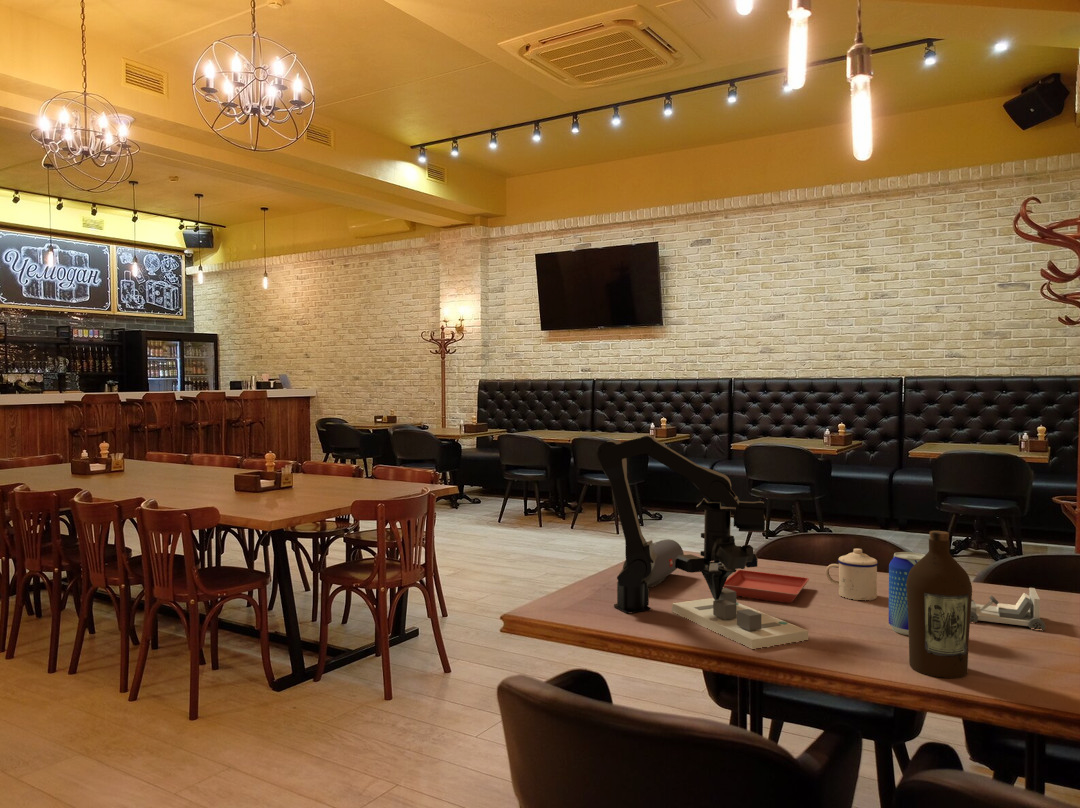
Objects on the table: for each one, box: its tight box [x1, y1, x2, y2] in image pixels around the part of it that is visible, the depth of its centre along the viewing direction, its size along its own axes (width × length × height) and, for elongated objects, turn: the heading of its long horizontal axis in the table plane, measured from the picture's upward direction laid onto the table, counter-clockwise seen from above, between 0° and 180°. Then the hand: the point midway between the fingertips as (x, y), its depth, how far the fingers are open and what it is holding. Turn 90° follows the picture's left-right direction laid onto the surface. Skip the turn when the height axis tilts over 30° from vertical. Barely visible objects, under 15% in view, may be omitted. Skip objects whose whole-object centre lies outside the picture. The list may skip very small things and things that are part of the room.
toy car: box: [970, 579, 1047, 631], centre depth 172 cm, size 18×10×12 cm
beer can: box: [888, 551, 926, 636], centre depth 163 cm, size 8×8×16 cm
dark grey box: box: [713, 599, 736, 620], centre depth 166 cm, size 3×4×3 cm
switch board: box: [671, 597, 809, 650], centre depth 167 cm, size 14×28×2 cm, turn 24°
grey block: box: [715, 587, 737, 604], centre depth 176 cm, size 3×4×3 cm
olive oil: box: [906, 530, 973, 679], centre depth 141 cm, size 11×11×25 cm
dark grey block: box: [737, 609, 761, 631], centre depth 159 cm, size 3×4×3 cm
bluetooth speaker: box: [622, 539, 685, 588], centre depth 204 cm, size 23×9×10 cm, turn 150°
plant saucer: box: [723, 569, 810, 604], centre depth 195 cm, size 18×18×3 cm
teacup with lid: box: [825, 548, 879, 602], centre depth 191 cm, size 12×9×12 cm
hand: (716, 599), depth 175 cm, fingers closed
